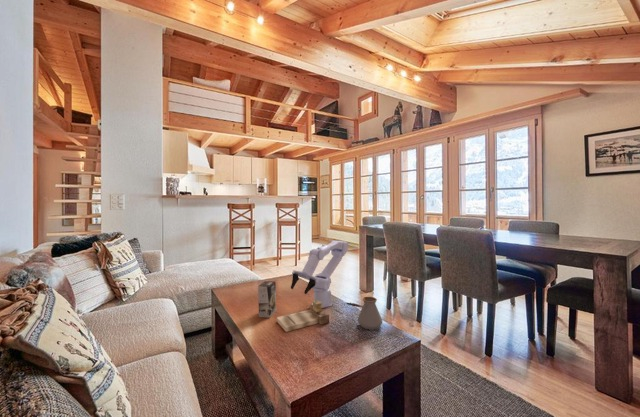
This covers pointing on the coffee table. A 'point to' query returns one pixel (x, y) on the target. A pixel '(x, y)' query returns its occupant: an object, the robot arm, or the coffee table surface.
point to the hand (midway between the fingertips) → (298, 290)
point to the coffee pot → (368, 314)
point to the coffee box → (267, 298)
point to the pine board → (298, 320)
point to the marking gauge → (320, 312)
